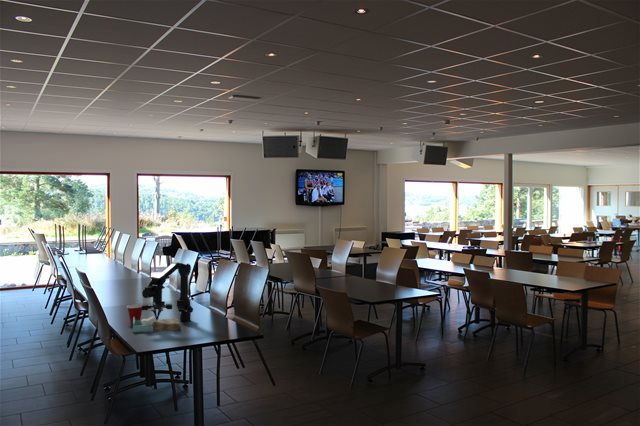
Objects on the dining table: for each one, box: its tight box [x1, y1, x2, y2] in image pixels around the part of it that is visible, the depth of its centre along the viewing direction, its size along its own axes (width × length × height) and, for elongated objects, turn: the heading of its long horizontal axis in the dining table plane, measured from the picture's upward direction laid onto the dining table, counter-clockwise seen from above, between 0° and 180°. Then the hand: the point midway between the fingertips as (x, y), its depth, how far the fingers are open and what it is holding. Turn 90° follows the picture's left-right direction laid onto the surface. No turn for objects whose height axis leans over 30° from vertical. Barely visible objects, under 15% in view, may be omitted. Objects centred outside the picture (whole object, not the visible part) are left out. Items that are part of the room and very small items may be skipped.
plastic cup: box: [126, 303, 144, 325], centre depth 355 cm, size 11×11×12 cm
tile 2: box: [146, 315, 156, 325], centre depth 341 cm, size 5×5×3 cm
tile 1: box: [140, 318, 148, 325], centre depth 339 cm, size 5×5×3 cm
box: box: [132, 317, 154, 334], centre depth 339 cm, size 12×18×6 cm, turn 19°
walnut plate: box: [153, 317, 180, 332], centre depth 344 cm, size 16×16×4 cm
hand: (156, 320), depth 342 cm, fingers closed
